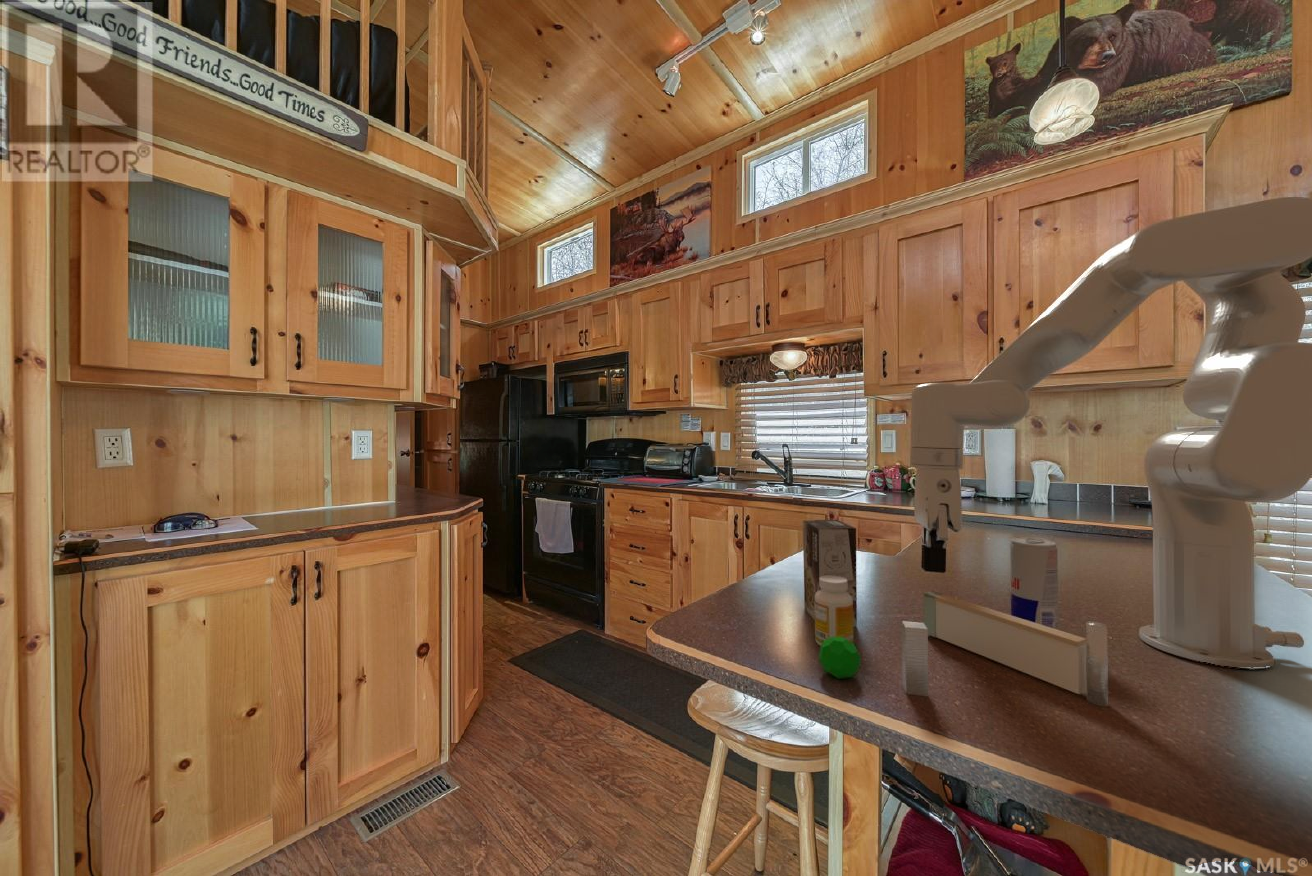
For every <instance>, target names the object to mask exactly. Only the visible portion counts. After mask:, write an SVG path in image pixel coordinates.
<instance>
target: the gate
mask: <svg viewBox="0 0 1312 876" xmlns="http://www.w3.org/2000/svg"><path fill="white" fill-rule="evenodd" d="M923 619H924V620H923V623H924V624H925V626H926V627H927V629H928V636H931V637H933V638H938V639H940V640H943V641H945V642H947V643H950V644H953V645H956V646H957V647H960V648H963V649H965V650H967V651H970V652H972V653H975V654H977V655H980V656H983V657H985V658H987V659H990V660H993V661H995V662H997V663H1000V664H1002V665H1005V666H1008V667H1009V668H1013V669H1014V670H1017V671H1020V672H1021V673H1024V674H1028V675H1029V676H1032V677H1035V678H1037V679H1040V680H1042V681H1045V682H1046V683H1047V682H1048V683H1050V684H1052V685H1055V686H1058V687H1060V688H1062V689H1065V690H1067V691H1070V692H1072V693H1075V694H1077V695H1081V694H1083V693H1087V652H1086V638H1085V637H1082V636H1079V635H1076V634H1072V633H1069V632H1066V631H1063V630H1060V629H1058V630H1057V629H1053V628H1050V627H1047V626H1044V625H1041V624H1037V623H1034V622H1031V621H1028V620H1024V619H1021V618H1018V617H1015V616H1012V615H1011V614H1008V613H1006V612H1005V613H1004V612H1001V611H998V610H996V609H992V608H989V607H985V606H982V605H978V604H975V603H972V602H969V601H966V600H963V599H960V598H956V597H952V596H950V595H948V594H943V593H940V592H937V591H934V590H931V591H927V592H923Z"/></svg>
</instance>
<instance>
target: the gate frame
mask: <svg viewBox="0 0 1312 876" xmlns="http://www.w3.org/2000/svg"><path fill="white" fill-rule="evenodd" d="M1085 626H1086V627H1085V631H1086V632H1085V635H1086V636H1085V637H1086V690H1087V691H1086V700H1087V702H1088V703H1090V704H1092V705H1094V706H1098V707H1108V706H1109V672H1108V671H1109V669H1108V667H1109V665H1108V663H1109V662H1108V659H1109V657H1108V654H1109V653H1108V650H1109V649H1108V648H1109V647H1108V625H1107V624H1105V623H1103V622H1100V621H1099V622H1098V621H1094V620H1093V621H1092V620H1091V621H1090V620H1089V621H1088V620H1087V621H1085ZM928 638H929V635H928V629H927V627H926V626H925V624H924V622H917V621H907V620H902V621H901V644H902V645H901V650H902V651H901V653H902V656H901V657H902V660H901V661H902V662H901V663H902V664H901V665H902V666H901V667H902V688H903V690H904V692H905V694H906V695H913V696H923V697H929V639H928Z"/></svg>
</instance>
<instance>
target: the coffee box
mask: <svg viewBox="0 0 1312 876" xmlns="http://www.w3.org/2000/svg"><path fill="white" fill-rule="evenodd" d="M802 541H803V543H802V544H803V545H802V547H803V550H802V552H803V553H802V554H803V556H802V557H803V594H804V596H803V598H804V602H803V603H804V606H803V607H804V609H805V611H807V614H809V616H811V618H812V619H813V620H814V621H815V594H816V592H817V591H819V590H821V588H820V587H819V578H820V577H821V576H826V575H832V576H840V577H843V578H846V579H847V582H848V588H847V591H846V592H847V593H848V594H849V595H850V596H851V597H852V600H853V628H855V627H856V628H857V625H858V621H857V620H858V613H857V612H858V610H857V607H858V606H857V605H858V604H857V602H858V601H857V600H858V598H857V597H858V596H857V594H858V593H857V528H856V527H855V526H851V525H850V524H848V523H846V522H843V521H841V520H838V519H815V520H802Z"/></svg>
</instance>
